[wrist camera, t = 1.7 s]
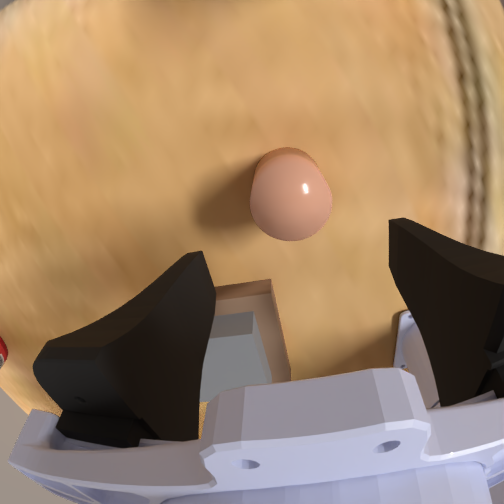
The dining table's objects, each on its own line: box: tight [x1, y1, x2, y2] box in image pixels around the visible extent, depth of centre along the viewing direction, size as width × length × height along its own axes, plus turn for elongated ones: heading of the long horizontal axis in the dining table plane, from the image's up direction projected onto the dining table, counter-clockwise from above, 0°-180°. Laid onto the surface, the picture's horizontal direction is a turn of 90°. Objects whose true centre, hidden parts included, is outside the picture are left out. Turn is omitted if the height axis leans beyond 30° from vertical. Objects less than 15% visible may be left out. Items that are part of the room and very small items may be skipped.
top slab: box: [200, 311, 272, 402], centre depth 25 cm, size 8×8×2 cm
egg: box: [250, 147, 332, 241], centre depth 19 cm, size 4×4×4 cm
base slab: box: [214, 279, 291, 383], centre depth 27 cm, size 11×11×2 cm
